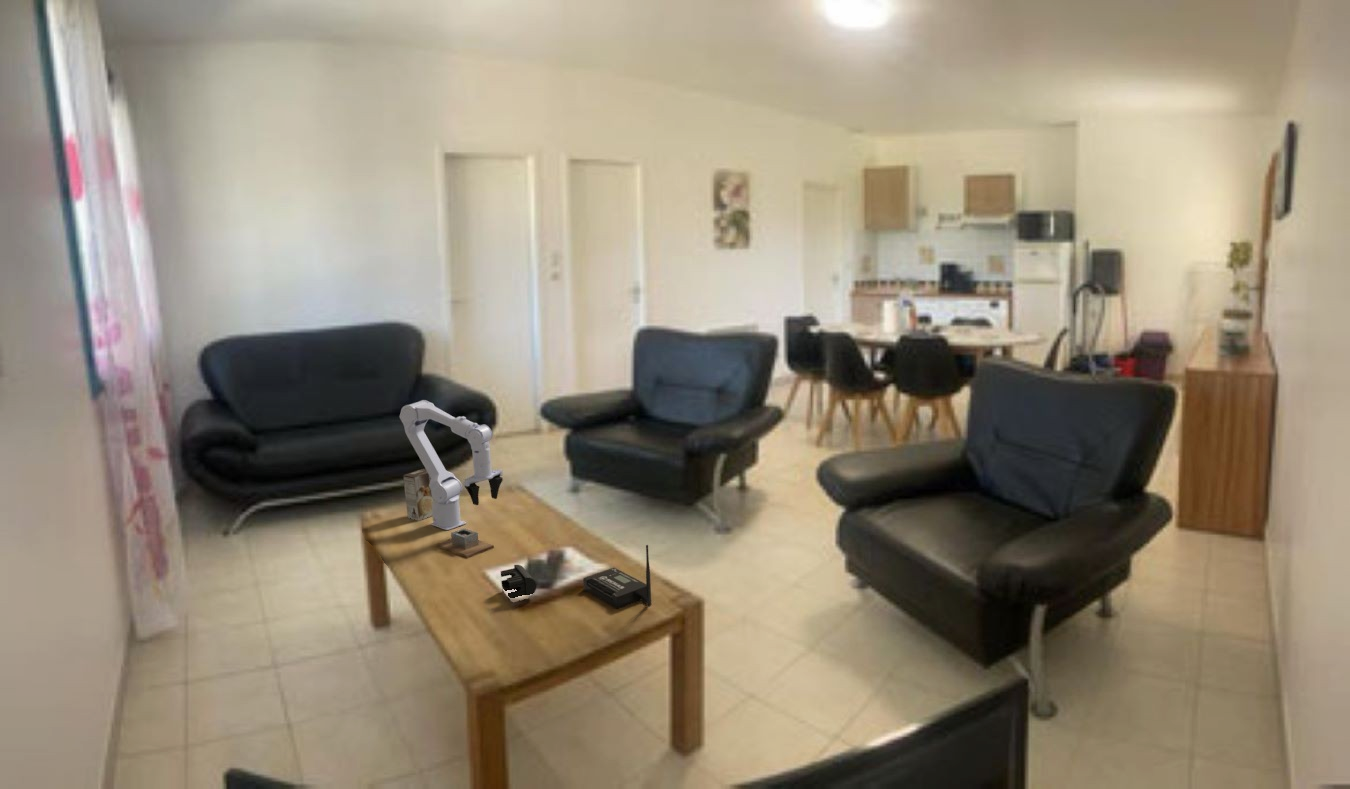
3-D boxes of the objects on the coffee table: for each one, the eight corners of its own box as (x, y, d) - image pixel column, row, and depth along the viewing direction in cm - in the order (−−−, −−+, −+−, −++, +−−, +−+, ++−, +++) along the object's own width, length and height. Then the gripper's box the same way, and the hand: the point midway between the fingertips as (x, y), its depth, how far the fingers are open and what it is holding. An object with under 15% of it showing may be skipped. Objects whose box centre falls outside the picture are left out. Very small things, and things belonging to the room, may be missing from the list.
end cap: (537, 598, 216) (536, 574, 215) (512, 604, 213) (510, 580, 212) (526, 584, 225) (524, 562, 224) (501, 590, 222) (499, 567, 220)
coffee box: (427, 510, 289) (423, 467, 286) (439, 513, 285) (435, 470, 282) (406, 518, 281) (402, 474, 278) (418, 521, 278) (414, 477, 275)
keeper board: (437, 546, 255) (436, 534, 254) (463, 536, 262) (462, 525, 261) (467, 558, 245) (466, 545, 244) (493, 547, 252) (492, 535, 251)
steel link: (452, 544, 253) (451, 532, 253) (465, 539, 257) (464, 528, 256) (465, 549, 249) (464, 537, 248) (478, 544, 253) (477, 532, 252)
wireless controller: (578, 593, 219) (575, 534, 216) (619, 578, 228) (617, 521, 225) (621, 618, 204) (618, 555, 201) (663, 601, 213) (661, 541, 209)
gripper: (471, 469, 256) (474, 509, 258) (507, 458, 267) (510, 497, 269) (458, 465, 260) (461, 505, 263) (493, 455, 271) (496, 493, 274)
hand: (485, 501), depth 266 cm, fingers open, 7 cm apart
